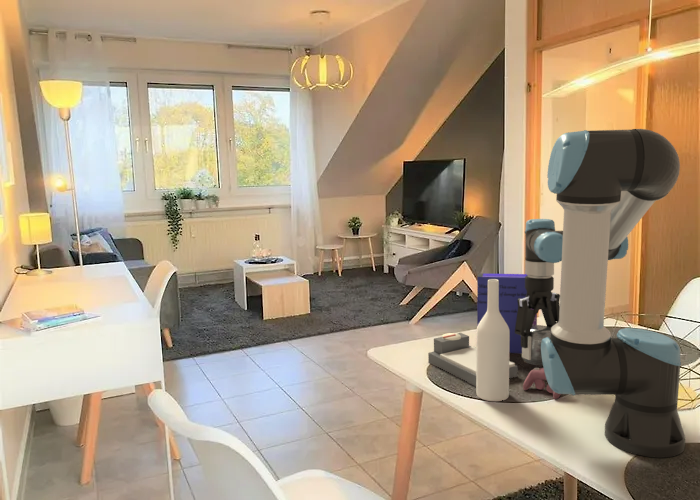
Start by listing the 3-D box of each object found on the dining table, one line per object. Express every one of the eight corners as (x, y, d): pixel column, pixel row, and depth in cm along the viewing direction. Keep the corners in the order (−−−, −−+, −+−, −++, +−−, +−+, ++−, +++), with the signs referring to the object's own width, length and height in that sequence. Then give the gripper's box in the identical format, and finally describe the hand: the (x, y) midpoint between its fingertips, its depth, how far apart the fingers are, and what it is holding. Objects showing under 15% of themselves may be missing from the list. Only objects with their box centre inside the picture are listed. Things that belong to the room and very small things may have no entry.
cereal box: (535, 349, 179) (536, 273, 175) (536, 354, 175) (537, 277, 171) (477, 346, 184) (477, 272, 180) (477, 351, 179) (477, 276, 175)
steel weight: (553, 366, 156) (554, 333, 155) (522, 363, 159) (523, 332, 157) (552, 356, 164) (553, 325, 163) (523, 354, 166) (523, 324, 165)
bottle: (488, 404, 142) (489, 285, 137) (470, 392, 149) (469, 278, 144) (515, 398, 145) (517, 281, 140) (496, 386, 152) (496, 275, 147)
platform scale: (517, 376, 158) (517, 349, 157) (477, 387, 152) (477, 359, 151) (464, 352, 178) (464, 328, 177) (426, 361, 172) (426, 336, 171)
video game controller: (563, 402, 145) (570, 375, 146) (556, 399, 142) (562, 371, 143) (528, 391, 152) (534, 365, 153) (520, 388, 149) (526, 362, 150)
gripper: (555, 269, 166) (554, 345, 169) (500, 278, 156) (500, 358, 160) (577, 273, 159) (575, 352, 163) (520, 282, 150) (519, 366, 153)
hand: (538, 355), depth 161 cm, fingers closed on steel weight, 8 cm apart
